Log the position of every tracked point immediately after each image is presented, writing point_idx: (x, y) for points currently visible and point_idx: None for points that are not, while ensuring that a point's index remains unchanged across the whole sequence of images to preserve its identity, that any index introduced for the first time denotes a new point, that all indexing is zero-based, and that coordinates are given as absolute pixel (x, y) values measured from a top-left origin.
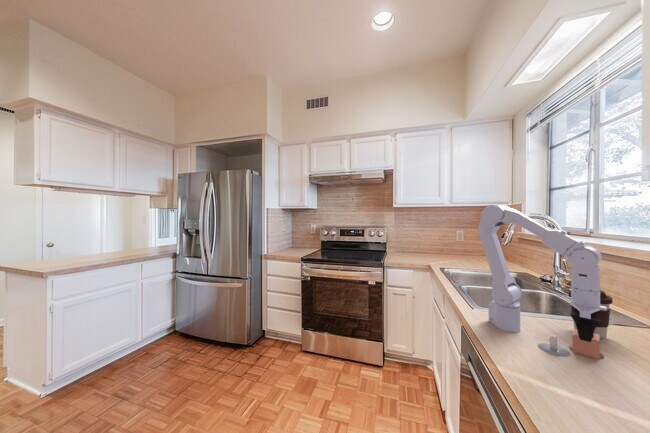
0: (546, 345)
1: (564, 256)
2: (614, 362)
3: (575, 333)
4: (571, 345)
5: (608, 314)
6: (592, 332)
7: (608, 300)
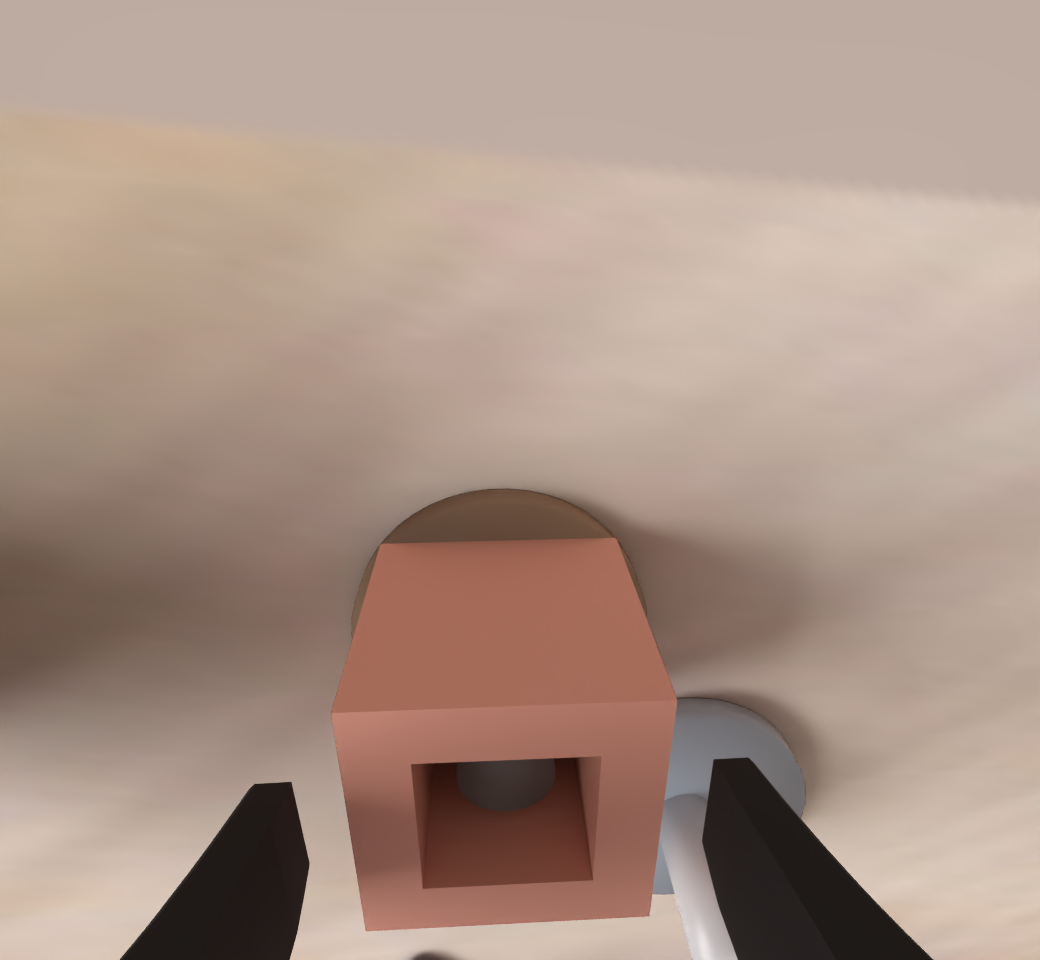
0: None
1: None
2: (487, 413)
3: (574, 900)
4: None
5: None
6: (897, 927)
7: None
